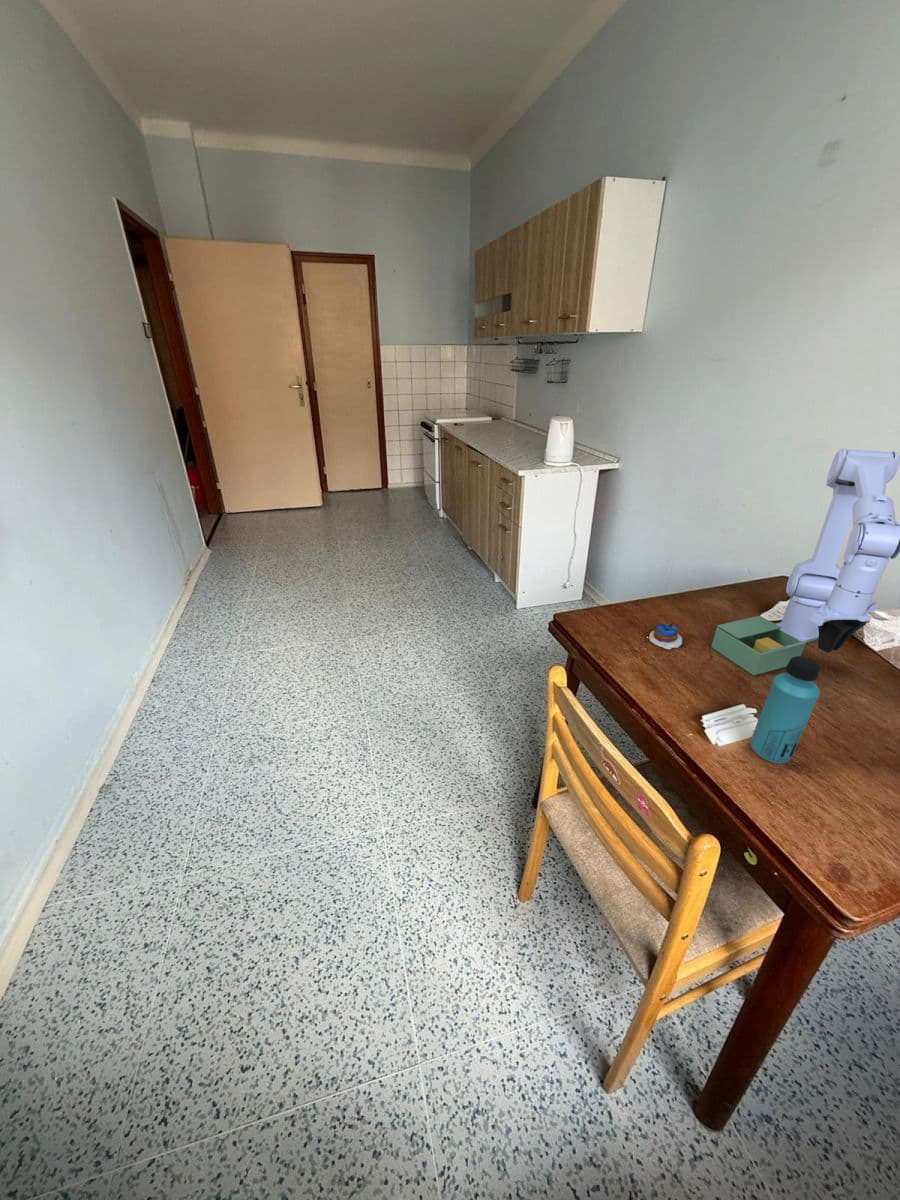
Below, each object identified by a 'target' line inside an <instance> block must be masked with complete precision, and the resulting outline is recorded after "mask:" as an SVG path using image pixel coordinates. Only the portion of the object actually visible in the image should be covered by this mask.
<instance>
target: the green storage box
mask: <svg viewBox="0 0 900 1200" xmlns="http://www.w3.org/2000/svg"><path fill="white" fill-rule="evenodd" d="M781 628H782V627H780V626H778V625H776V623H775V622H772V621H771V620H769V619H767V618H765V617H764V616H762V615H757V616H752V617H748V618H744V619H739V620H735V621H729V622H725V623H721V624H717V627H716V629H715V632H714V636H713V640H712V643H711V648H712V649H713V650H715V651H716V652H718V653H719V654H721V655H722V656H724V657H726V658H727V659H729V660H730V661H731V662H733V663H734V664H736V665H737V666H738V667H740V668H742V669H743V670H744V671H746V672H748V673H749V674H751V675H752V676H757V675H761V674H765V673H769V672H772V671H775V670H779V669H783V668H786V667H787V665H788V663H789V661H790V659H791V658H793V657H796V656H800V657H802V653H803V651H804V649H805V646H806V643H807V642H806V643H803V644H799V645H795V646H791V647H787V648H783V649H779V650H775V651H771V652H767V653H762V654H760V653H759V652H757V651H756V650H754V649H753V647H754V645H755V642H756V640H758V639H762V638H766V637H768V638H770V639H772V640H774V641H775V642H777V643H779V644H781V645H782V646H788V645H792V644H796V643H800V642H802V641H800V640H798V639H796V638H795V637H793V636H791V635H789V634H787V633H785V632H784V631H782V630H780V629H781Z"/></svg>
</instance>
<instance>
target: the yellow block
mask: <svg viewBox="0 0 900 1200" xmlns="http://www.w3.org/2000/svg"><path fill="white" fill-rule="evenodd" d="M780 647H784V646H782V645H781V644H779V643H777V642H775V641H774V640H772V639H770V638H768V637H766V638H762V639H758V640H756V642H755V645H754V647H753V649H754V650H756V651H757V652H759V653H760V654H762V652H765V651H768V650H772V649H776V648H780Z"/></svg>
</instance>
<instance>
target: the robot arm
mask: <svg viewBox="0 0 900 1200" xmlns="http://www.w3.org/2000/svg"><path fill="white" fill-rule="evenodd" d="M899 467H900V455H899V452H898V451H894V450H893V451H881V450H864V449H863V450H862V449H846V448H841V449H840V450H838V451H837V452H836V453H835V455H834V457H833V459H832V462H831V465H830V467H829V471H828V473H827V476H826V480H825V481H826V483H825V485H826V487H829V488H831V489H832V498H831V501H830V503H829V507H828V509H827V512H826V516H825V518H824V521H823V524H822V528H821V529H820V533H819V536H818V539H817V542H816V544H815V548H814V551H813V554H812V557H811V558H809V559H807V560H804V561H801V562H798V563H796V564H795V565H794V566H793V569H792V572H791V573H790V575H789V577H788V580H787V583H786V588H785V593H786V594H787V596H788V597H789V600H788V603H787V605H786V609H785V611H784V613H783V617H782V619H781V621H780V622H776V623H775V624H776V625H778V626H780V627H782V628H781V629H780V630H782V631H784V632H785V633H787V634H789V635H791V636H793V637H795V638H796V639H798V640H800V641H802V642H803V641H807V640H811V639H815V638H818V640H817V648H818V649H819V650H822V651H824V652H825V653H831V652H832V651H836V652H837V651H839V650H840V649H841V648H842V646H843V645H844V644H845V643H846V642H847V641H848V640H849V639H850V637H851V636H852V635H854V633H857V631H858V630H860V629H861V628H864V627H865V626H866V625H867V623H868V622H869V621H870V620H871V618H872V617H871V616H870V615H869V614H874V613H875V612H876V609H877V607H878V605H879V603H877V602H874V601H873V600H872V598H873V596H874V595H875V592H876V589H878V585H879V583H880V582H881V580H882V577H883V575H884V573H885V570H886V568H887V566H888V564H889V562H890V559H891V560H894V559H896V558H897V557H898V556H899V555H900V522H899V521H897V519H896V512H895V503H894V500H893V499H892V497H890V496H889V495H887V494H886V489H887V484H888V483H889V482H891V481H892V480H893V479H894V478H895V476H896V474H897V472H898V469H899ZM851 523H852V529H851V530H850V533H849V528H850V527H851ZM848 533H849V536H848V535H847V534H848ZM847 536H848V538H847V544H846V548H845V551H844V553H843V556H842V557H843V560H844V561H843V564H842V566H841V567H840V566H839V565H838V564H837V562H838V560H839V558H840V557H839V556H840V554H841V551H842V548H843V546H844V543H845V540H846V537H847Z"/></svg>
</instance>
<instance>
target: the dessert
mask: <svg viewBox="0 0 900 1200" xmlns="http://www.w3.org/2000/svg"><path fill="white" fill-rule="evenodd" d="M648 639H649V642H651V643H652V644H653V645H655V646H657V647H661V648H663V649H666V650H671V649H673V648H674V649H678V648H679V647H680V646H682V644H683V637H682V636H681V634H679V629H678V628H677V627H676V625H674V624H673V623H660V624H658V625H657V626H656V627H655V628H654V630H652V631H650V633H649V635H648Z"/></svg>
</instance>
